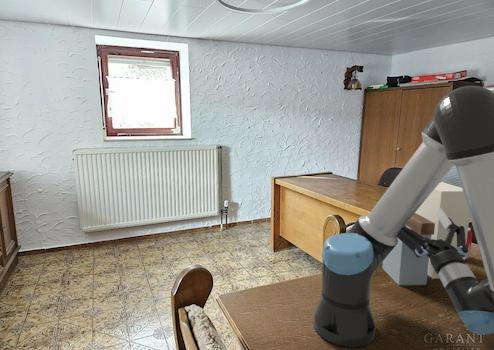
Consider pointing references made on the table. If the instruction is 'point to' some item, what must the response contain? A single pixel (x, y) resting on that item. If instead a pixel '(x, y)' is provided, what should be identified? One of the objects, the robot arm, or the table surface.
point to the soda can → (468, 243)
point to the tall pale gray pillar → (406, 265)
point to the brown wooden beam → (421, 225)
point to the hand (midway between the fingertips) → (416, 211)
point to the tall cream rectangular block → (452, 206)
